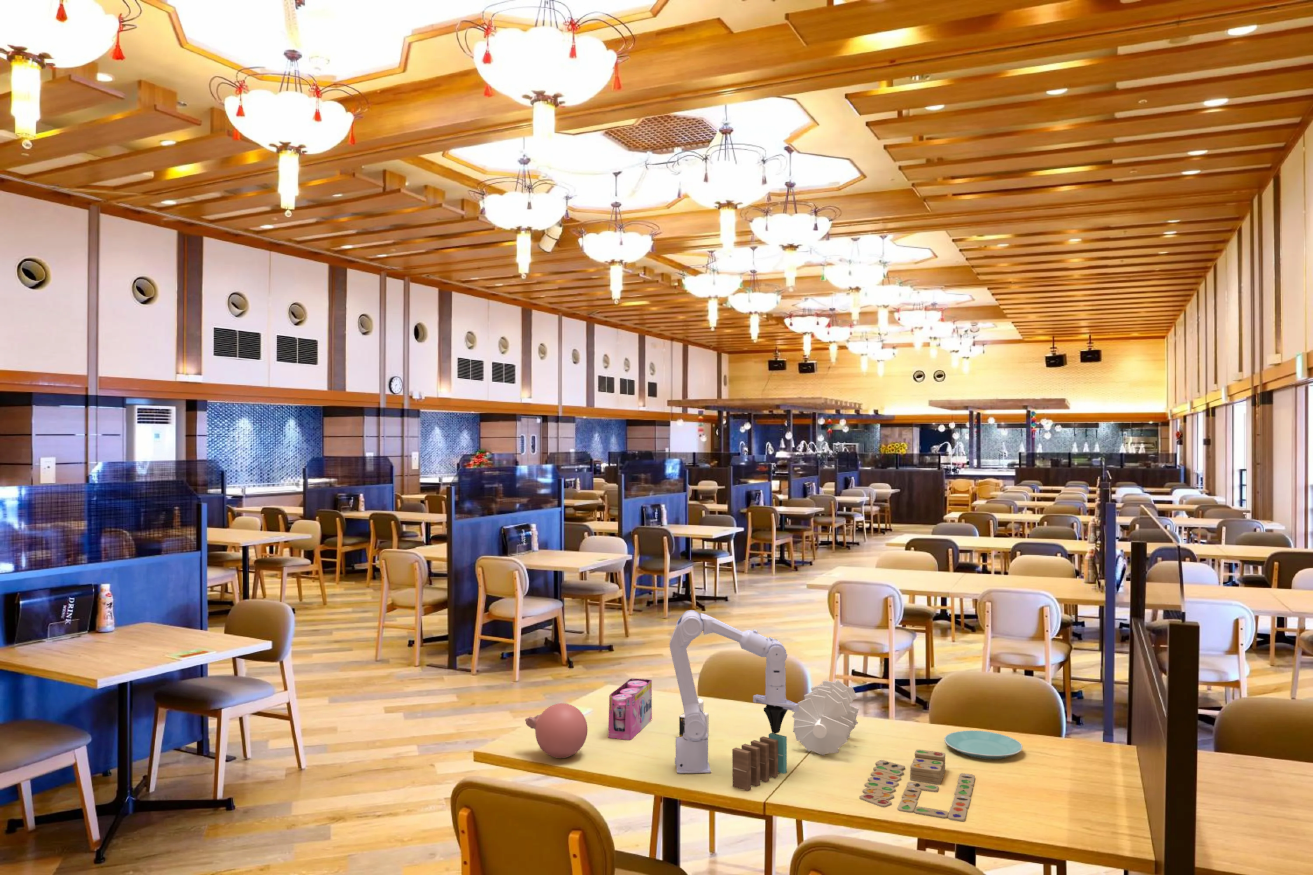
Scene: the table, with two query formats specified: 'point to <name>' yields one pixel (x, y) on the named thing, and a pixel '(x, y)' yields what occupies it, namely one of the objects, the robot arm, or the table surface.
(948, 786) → the table surface
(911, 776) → the pile of dominoes
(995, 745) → the plate
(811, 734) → the spiral staircase
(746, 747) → the walnut domino
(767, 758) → the walnut domino
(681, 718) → the medicine bottle
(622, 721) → the gum box
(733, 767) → the walnut domino
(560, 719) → the pink water balloon
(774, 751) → the walnut domino
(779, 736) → the teal domino
